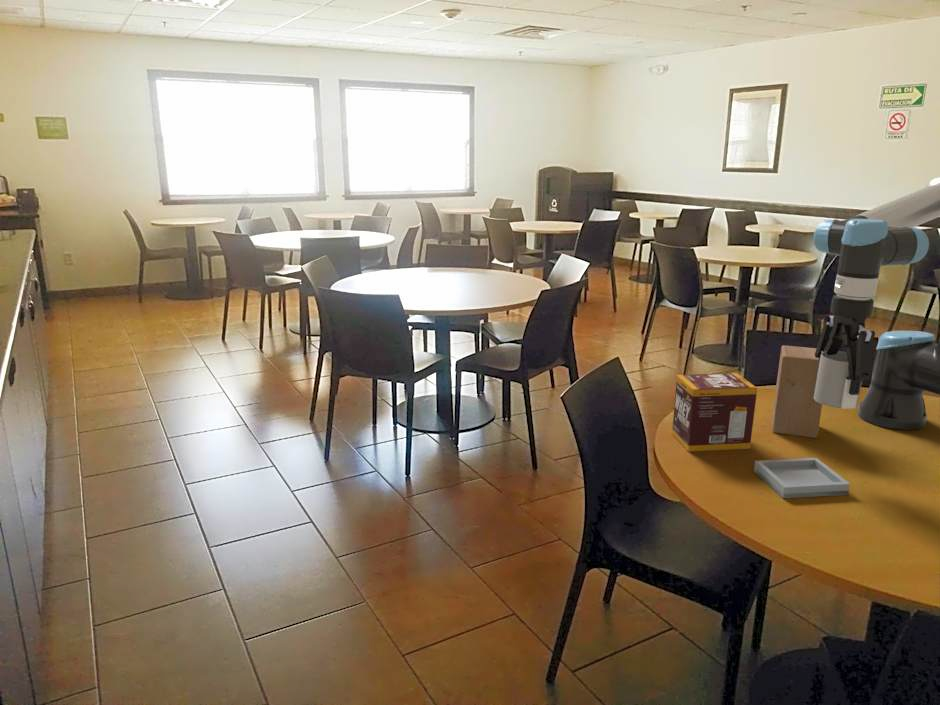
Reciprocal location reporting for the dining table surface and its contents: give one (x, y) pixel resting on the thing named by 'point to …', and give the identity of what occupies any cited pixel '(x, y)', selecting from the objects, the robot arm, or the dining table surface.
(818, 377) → the cup
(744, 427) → the supplement box
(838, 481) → the tray
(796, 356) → the wooden block
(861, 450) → the dining table surface
